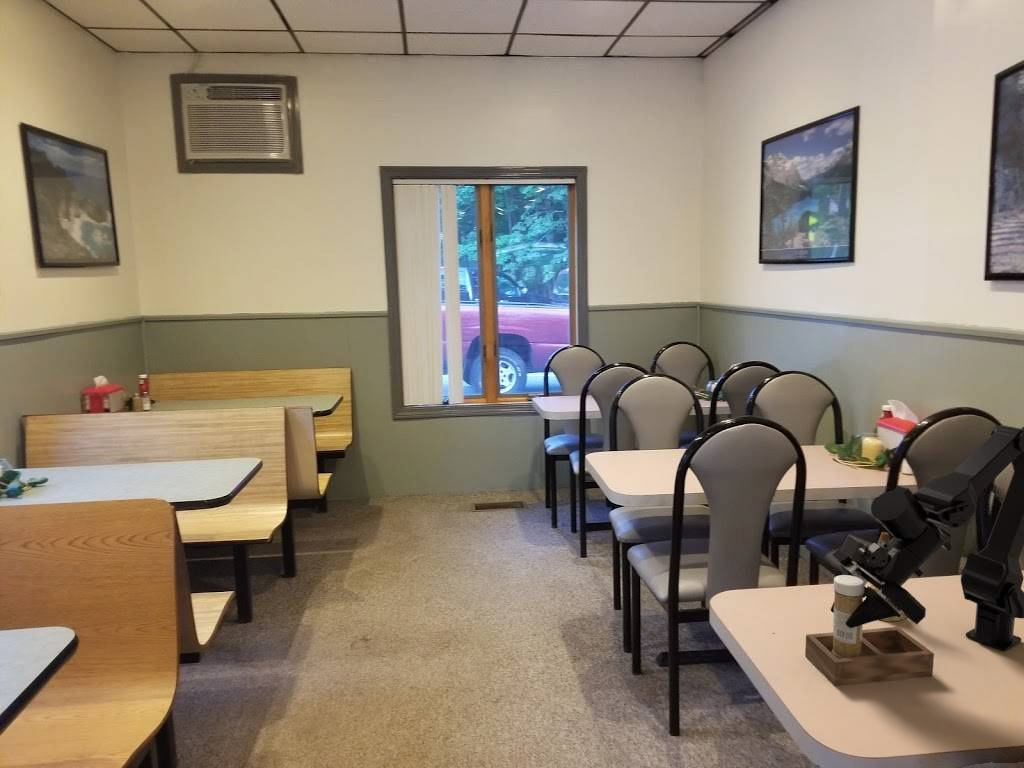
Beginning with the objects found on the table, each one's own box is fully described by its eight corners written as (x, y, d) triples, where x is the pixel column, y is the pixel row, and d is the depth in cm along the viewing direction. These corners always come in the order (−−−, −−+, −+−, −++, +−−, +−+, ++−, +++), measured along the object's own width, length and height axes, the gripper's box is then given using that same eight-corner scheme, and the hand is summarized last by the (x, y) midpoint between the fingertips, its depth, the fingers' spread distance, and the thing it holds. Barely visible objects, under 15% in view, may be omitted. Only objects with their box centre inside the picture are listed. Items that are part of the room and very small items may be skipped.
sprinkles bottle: (867, 657, 118) (870, 580, 117) (851, 666, 116) (854, 587, 114) (841, 646, 122) (844, 571, 120) (825, 654, 120) (828, 578, 118)
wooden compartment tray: (896, 648, 125) (898, 626, 125) (932, 676, 116) (934, 653, 116) (805, 656, 123) (806, 634, 123) (834, 685, 115) (835, 662, 114)
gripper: (845, 502, 125) (782, 565, 126) (910, 542, 107) (836, 616, 108) (886, 542, 127) (824, 604, 128) (958, 588, 108) (884, 660, 109)
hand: (839, 619), depth 118 cm, fingers closed on sprinkles bottle, 4 cm apart
